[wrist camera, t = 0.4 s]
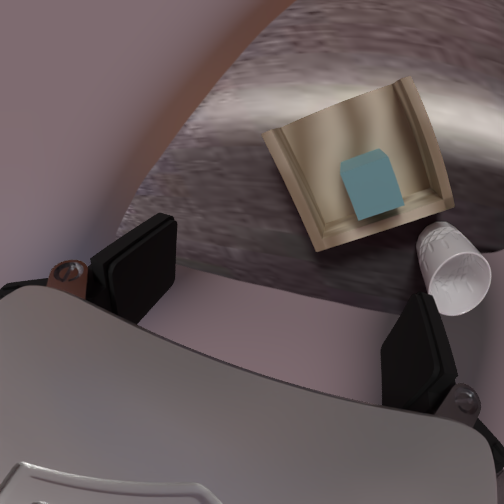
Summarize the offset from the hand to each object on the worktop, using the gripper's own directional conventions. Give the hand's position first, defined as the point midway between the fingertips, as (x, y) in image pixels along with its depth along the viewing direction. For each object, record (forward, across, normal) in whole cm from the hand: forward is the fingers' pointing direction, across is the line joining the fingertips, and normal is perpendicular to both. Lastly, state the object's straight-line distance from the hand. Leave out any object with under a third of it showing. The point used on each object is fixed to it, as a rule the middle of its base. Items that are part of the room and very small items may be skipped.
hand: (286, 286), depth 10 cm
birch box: (+26, -4, -2) cm, 26 cm away
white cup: (+26, -18, +5) cm, 32 cm away
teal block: (+25, -5, -1) cm, 26 cm away
